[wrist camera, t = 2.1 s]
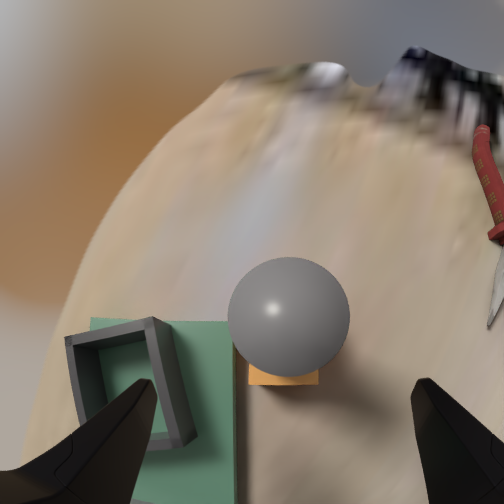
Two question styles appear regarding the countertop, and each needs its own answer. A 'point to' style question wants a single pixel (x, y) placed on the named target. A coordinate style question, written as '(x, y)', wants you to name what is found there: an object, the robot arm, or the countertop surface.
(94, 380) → the frame
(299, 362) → the plug
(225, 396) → the board
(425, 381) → the robot arm
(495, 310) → the pliers
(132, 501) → the grey button box
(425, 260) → the countertop surface
